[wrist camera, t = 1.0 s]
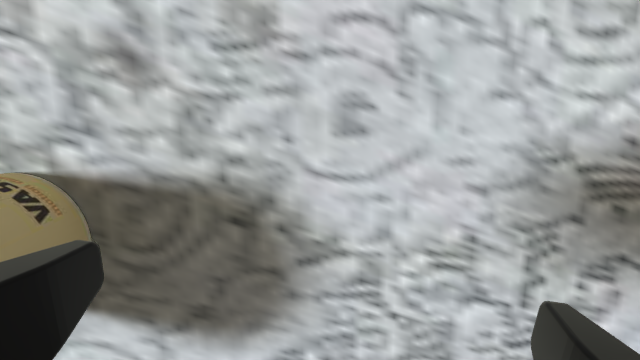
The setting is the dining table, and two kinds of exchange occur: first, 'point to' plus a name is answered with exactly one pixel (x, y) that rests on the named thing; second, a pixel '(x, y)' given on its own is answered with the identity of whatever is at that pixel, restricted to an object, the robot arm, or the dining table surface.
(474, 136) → the dining table surface
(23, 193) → the coffee cup
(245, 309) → the dining table surface
